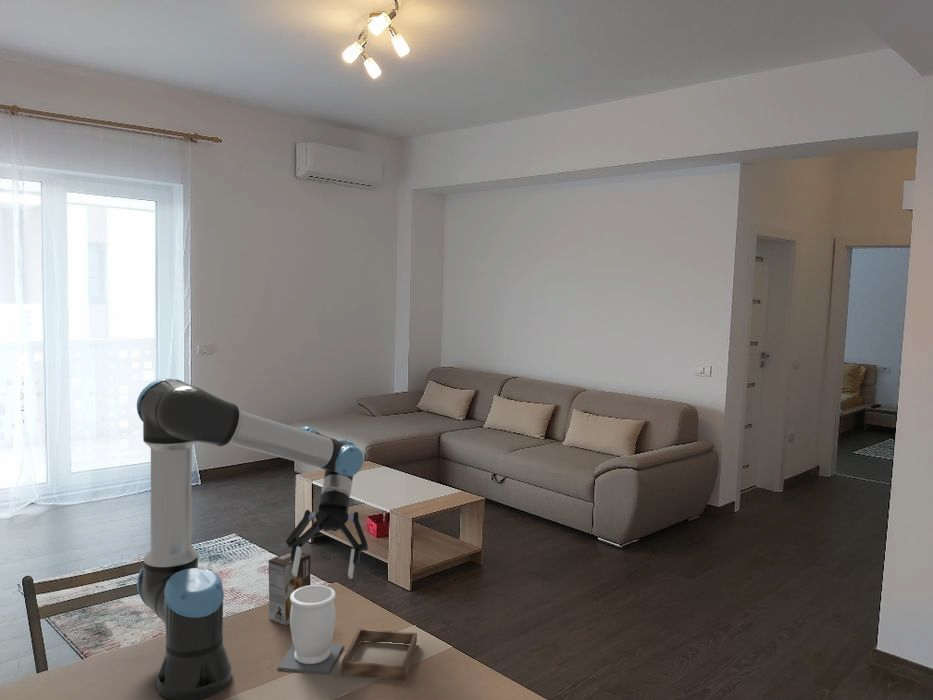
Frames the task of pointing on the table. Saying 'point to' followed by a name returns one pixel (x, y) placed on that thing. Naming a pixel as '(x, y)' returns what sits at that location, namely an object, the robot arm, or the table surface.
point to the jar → (312, 622)
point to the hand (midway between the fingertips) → (322, 575)
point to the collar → (373, 668)
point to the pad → (320, 668)
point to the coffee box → (285, 584)
